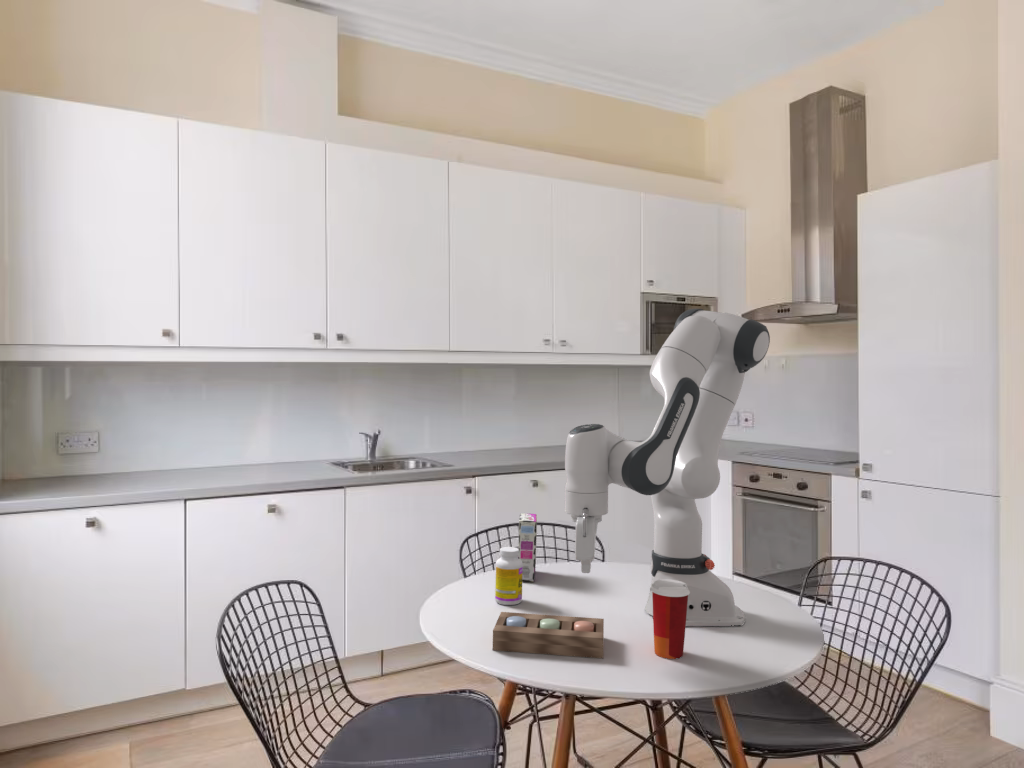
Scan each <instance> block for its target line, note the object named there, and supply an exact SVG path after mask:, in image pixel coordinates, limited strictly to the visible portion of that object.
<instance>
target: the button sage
mask: <svg viewBox="0 0 1024 768" xmlns="http://www.w3.org/2000/svg"><path fill="white" fill-rule="evenodd" d="M559 627H560V622H559V621H558V620H556V619H542V620H541V621H540V628H545V629H559Z"/></svg>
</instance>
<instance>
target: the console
mask: <svg viewBox="0 0 1024 768" xmlns="http://www.w3.org/2000/svg"><path fill="white" fill-rule="evenodd" d="M512 616H520V617H523V618H525V619H526V627H516V626H507V618H508V617H512ZM542 619H556V620H558V621H559V622H560V627H559V629H545V628H540V621H541V620H542ZM577 621H588V622H591V623H593V624H594V632H587V631H574V623H575V622H577ZM604 623H605V619H604V618H597V617H583V616H570V615H569V616H568V615H557V614H556V615H553V614H539V613H527V612H526V613H525V612H524V613H523V612H509V611H501V612H500V613H499V616H498V618H497V620H496V623H495V625H494V627H493V629H492V651H496V652H497V651H499V652H510V653H511V652H512V653H524V654H525V653H526V654H535V655H537V654H538V655H540V654H541V655H550V656H551V655H552V656H565V657H579V658H590V659H604V634H605V633H604V628H605V627H604Z"/></svg>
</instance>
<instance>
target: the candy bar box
mask: <svg viewBox="0 0 1024 768" xmlns="http://www.w3.org/2000/svg"><path fill="white" fill-rule="evenodd" d="M537 518H538V517H537V514H536V513H525V512H524V513H520V514H519V518H518V519H519V520H518V544H517V545H518V549H519V555H518V559H520V560H521V561H522V563H523V570H522V583H523V582H524V583H525V582H526V583H527V582H528V583H529V582H530V583H534V582H536V581H535V579H536V565H537V564H536V563H537V562H536V561H537V535H538V534H537V533H538V530H537V529H538V526H537V525H538V522H537Z"/></svg>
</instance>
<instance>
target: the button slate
mask: <svg viewBox="0 0 1024 768" xmlns="http://www.w3.org/2000/svg"><path fill="white" fill-rule="evenodd" d="M507 626H516V627H526V619H525V618H523V617H520V616H512V617H508V618H507Z"/></svg>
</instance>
